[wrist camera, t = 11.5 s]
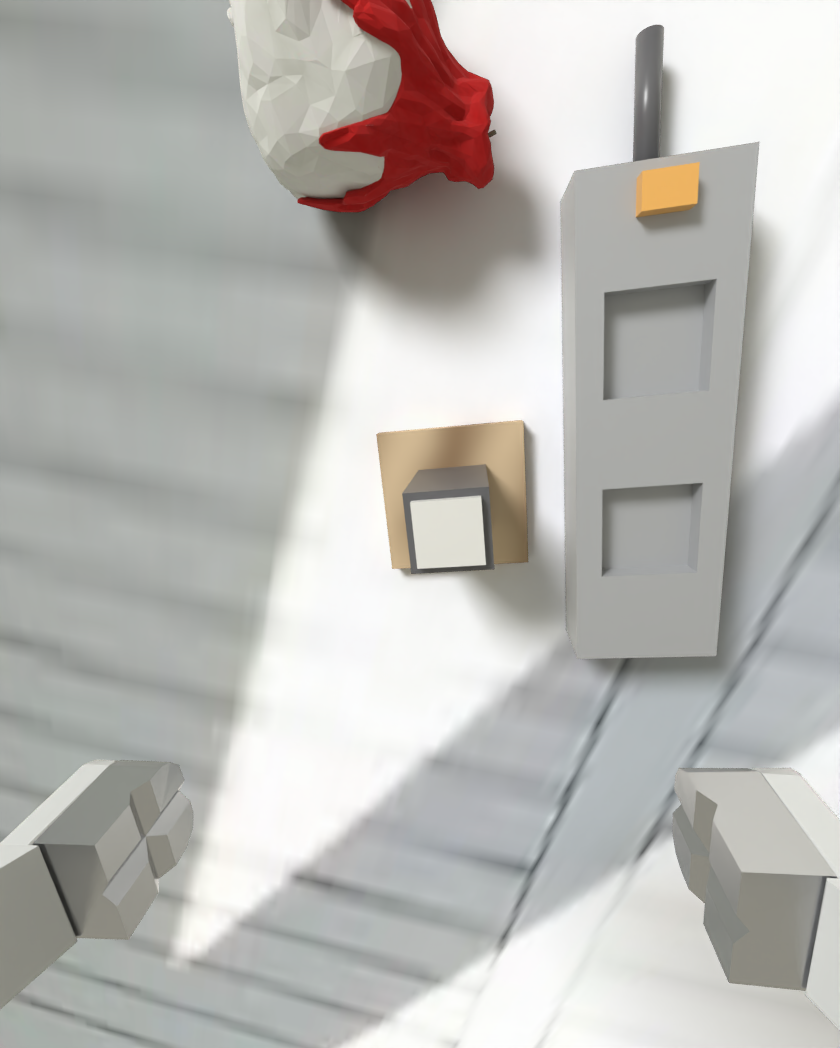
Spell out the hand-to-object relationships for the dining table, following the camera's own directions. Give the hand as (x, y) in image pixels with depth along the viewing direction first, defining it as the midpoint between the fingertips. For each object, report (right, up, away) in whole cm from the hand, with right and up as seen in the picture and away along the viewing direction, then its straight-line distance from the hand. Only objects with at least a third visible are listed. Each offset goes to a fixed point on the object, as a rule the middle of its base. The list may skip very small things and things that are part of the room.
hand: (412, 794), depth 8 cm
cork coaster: (+2, +6, +23) cm, 24 cm away
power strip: (+13, +13, +20) cm, 27 cm away
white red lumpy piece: (-3, +26, +18) cm, 32 cm away
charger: (+2, +6, +22) cm, 23 cm away
